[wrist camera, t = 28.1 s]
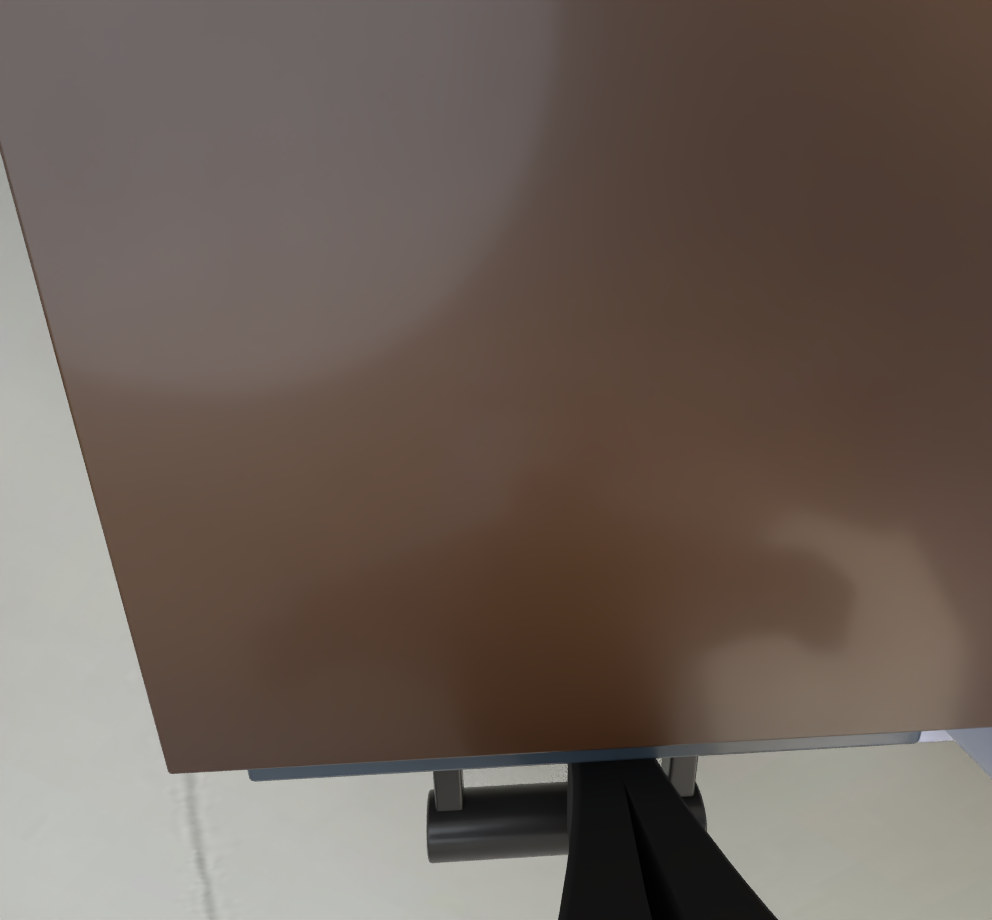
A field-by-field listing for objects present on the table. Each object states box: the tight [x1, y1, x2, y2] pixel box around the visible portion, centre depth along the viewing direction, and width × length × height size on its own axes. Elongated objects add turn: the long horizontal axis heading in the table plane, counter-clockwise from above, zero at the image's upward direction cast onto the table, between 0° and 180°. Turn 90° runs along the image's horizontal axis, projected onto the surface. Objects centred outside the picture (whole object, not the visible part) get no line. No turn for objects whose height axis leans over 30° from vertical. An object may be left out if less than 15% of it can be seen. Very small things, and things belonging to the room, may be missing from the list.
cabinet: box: [0, 0, 992, 774], centre depth 10 cm, size 15×12×9 cm
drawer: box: [248, 731, 922, 863], centre depth 12 cm, size 18×11×7 cm, turn 1°
